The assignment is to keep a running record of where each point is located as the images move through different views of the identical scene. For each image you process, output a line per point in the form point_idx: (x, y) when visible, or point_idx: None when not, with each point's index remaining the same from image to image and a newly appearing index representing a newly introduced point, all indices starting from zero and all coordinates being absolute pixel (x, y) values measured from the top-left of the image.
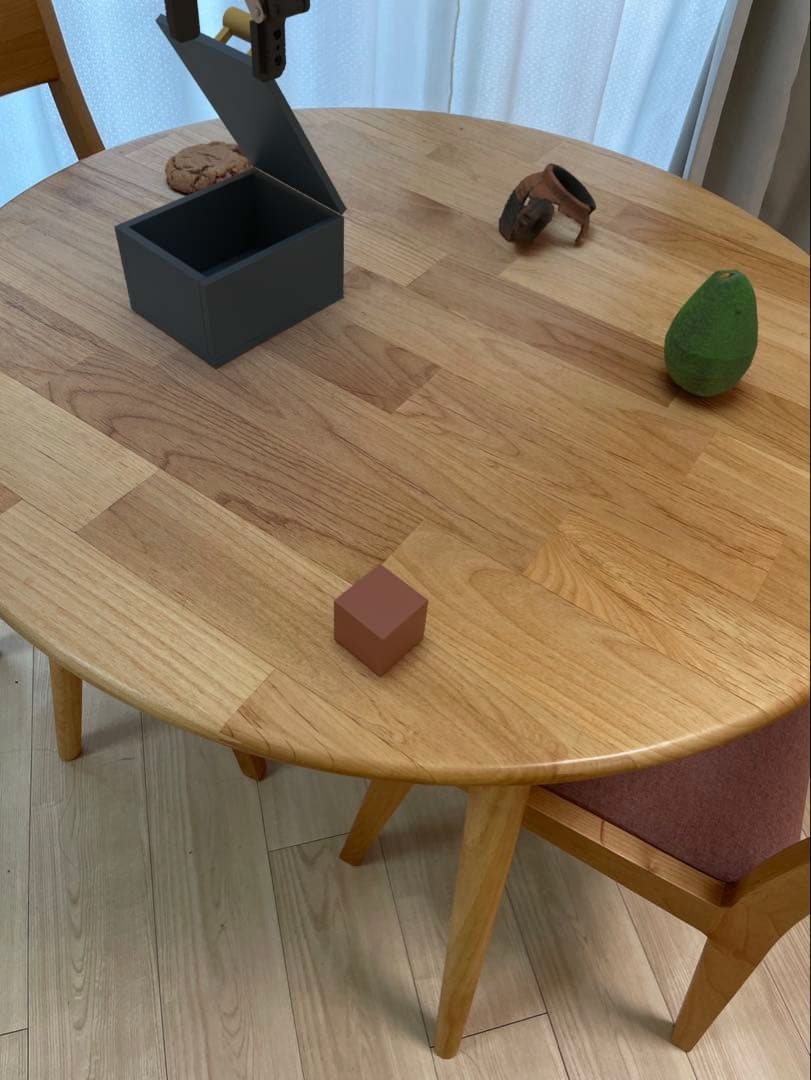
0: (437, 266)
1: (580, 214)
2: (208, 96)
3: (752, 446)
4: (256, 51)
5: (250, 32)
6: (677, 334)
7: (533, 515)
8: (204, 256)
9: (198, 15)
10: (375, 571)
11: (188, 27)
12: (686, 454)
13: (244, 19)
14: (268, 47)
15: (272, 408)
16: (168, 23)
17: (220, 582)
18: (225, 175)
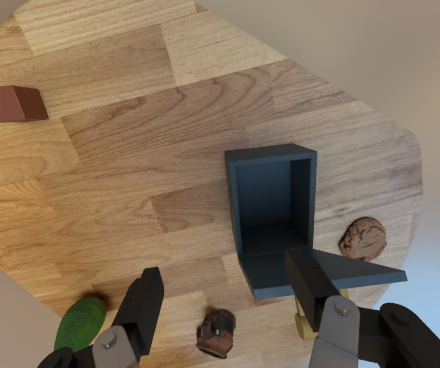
0: (224, 275)
1: (197, 341)
2: (342, 257)
3: (55, 293)
4: (137, 291)
5: (139, 307)
6: (84, 315)
7: (63, 203)
8: (293, 193)
9: (294, 292)
10: (21, 114)
11: (290, 271)
12: (64, 272)
13: None
14: (123, 305)
15: (183, 156)
16: (304, 257)
17: (93, 66)
18: (349, 242)
